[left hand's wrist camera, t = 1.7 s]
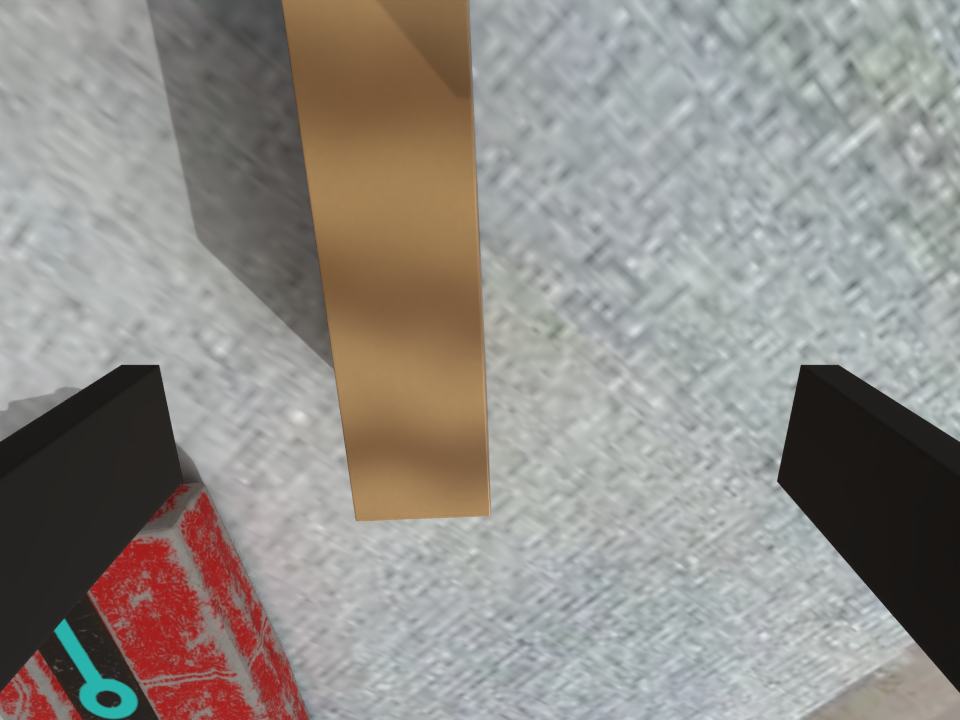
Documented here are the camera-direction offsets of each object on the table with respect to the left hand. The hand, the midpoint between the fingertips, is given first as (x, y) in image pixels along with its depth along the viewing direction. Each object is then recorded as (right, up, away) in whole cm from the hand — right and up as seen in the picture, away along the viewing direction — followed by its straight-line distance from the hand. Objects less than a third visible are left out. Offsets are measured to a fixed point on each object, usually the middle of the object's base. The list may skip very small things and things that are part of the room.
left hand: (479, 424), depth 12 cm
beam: (-4, +35, +3) cm, 35 cm away
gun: (-19, -19, +24) cm, 36 cm away
